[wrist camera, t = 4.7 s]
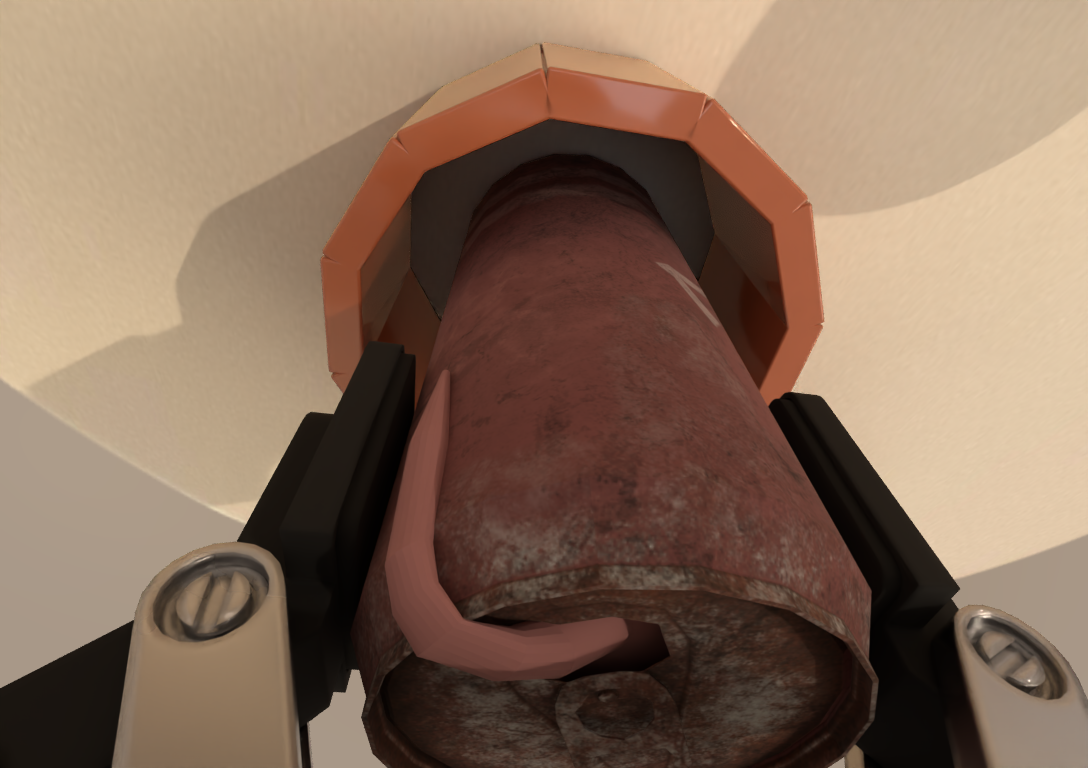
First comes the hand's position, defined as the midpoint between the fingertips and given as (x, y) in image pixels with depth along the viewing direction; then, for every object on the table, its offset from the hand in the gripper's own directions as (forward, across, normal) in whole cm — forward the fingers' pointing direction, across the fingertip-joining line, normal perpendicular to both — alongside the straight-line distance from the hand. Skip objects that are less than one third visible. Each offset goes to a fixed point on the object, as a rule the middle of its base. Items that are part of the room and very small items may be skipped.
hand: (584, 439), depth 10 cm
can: (+9, 0, 0) cm, 9 cm away
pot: (+9, 0, 0) cm, 9 cm away
